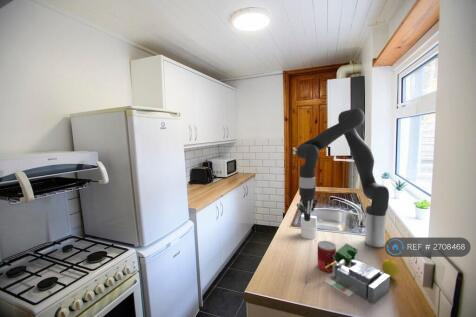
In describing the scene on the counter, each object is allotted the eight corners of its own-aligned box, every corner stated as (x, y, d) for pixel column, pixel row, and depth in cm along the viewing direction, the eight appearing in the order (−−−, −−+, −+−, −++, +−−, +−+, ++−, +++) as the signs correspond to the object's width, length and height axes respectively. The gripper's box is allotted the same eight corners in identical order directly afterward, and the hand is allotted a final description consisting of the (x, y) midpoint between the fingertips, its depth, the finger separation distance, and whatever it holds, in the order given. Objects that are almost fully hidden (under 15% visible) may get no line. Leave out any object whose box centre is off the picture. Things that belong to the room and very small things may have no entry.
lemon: (397, 282, 94) (398, 264, 93) (381, 278, 97) (382, 260, 96) (397, 275, 98) (398, 257, 97) (381, 271, 101) (382, 254, 100)
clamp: (345, 273, 108) (347, 261, 103) (333, 265, 112) (334, 254, 107) (357, 255, 114) (359, 244, 109) (345, 249, 118) (347, 237, 113)
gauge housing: (352, 272, 102) (353, 256, 101) (389, 290, 90) (389, 272, 89) (336, 283, 95) (336, 265, 94) (373, 304, 83) (373, 284, 82)
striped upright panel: (328, 278, 98) (328, 277, 98) (353, 293, 89) (353, 292, 89) (324, 281, 96) (324, 280, 96) (349, 296, 87) (349, 295, 87)
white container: (317, 233, 140) (318, 214, 139) (315, 240, 132) (315, 220, 131) (302, 231, 144) (302, 212, 143) (299, 237, 136) (299, 217, 135)
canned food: (327, 274, 100) (327, 250, 99) (313, 265, 107) (313, 243, 106) (339, 269, 104) (340, 246, 103) (325, 261, 111) (325, 239, 110)
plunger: (342, 269, 103) (342, 255, 102) (361, 279, 96) (361, 264, 96) (323, 281, 96) (323, 265, 95) (342, 292, 89) (343, 276, 88)
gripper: (309, 182, 117) (309, 215, 119) (291, 186, 110) (291, 221, 112) (322, 185, 111) (322, 219, 113) (304, 189, 104) (304, 226, 106)
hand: (307, 220), depth 113 cm, fingers closed
